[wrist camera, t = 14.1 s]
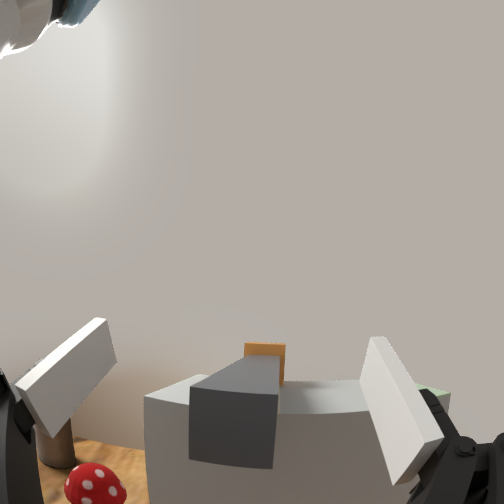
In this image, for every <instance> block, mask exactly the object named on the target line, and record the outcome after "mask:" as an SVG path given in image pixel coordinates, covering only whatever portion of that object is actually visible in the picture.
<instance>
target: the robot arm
mask: <svg viewBox="0 0 504 504" xmlns="http://www.w3.org/2000/svg"><path fill="white" fill-rule="evenodd" d="M98 2H99V0H0V59H1V57H2V56H3V55H6V54H11V53H16V52H19V51H22V50H24V49H26V48H28V47H30V46H31V45H32V44H34V43H35V42H36V41H37V39H39V38H40V36H41V35H42V34H43V33H44V32H45V31H46V29H47V28H48V27H49V26H50V25H51V24H52V23H54V22H56V23H59V25H58V26H59V27H69V28H71V27H76V26H77V25H79V24H80V23H81V22H82V21H83V20H84V19H85V18H86V17H87V16H88V15H89V13H90V12H91V11H92V10H93V8H94V7H95V6H96V5H97V3H98ZM116 362H117V361H116V357H115V353H114V349H113V345H112V341H111V336H110V332H109V328H108V323H107V319H103V318H97V317H96V318H94V319H93V320H92V321H90V322H89V323H88V324H87V325H85V326H84V327H83V328H82V329H80V330H79V331H78V332H76V333H75V334H74V335H73V336H72V337H70V338H69V339H68V340H67V341H65V342H64V343H63V344H62V345H60V346H59V347H58V348H57V349H56V350H54V351H53V352H52V353H51V354H50V355H48V356H46V357H44V358H42V359H40V360H39V361H38V362H37V363H35V364H34V366H32V367H30V368H29V370H27V371H26V372H25V373H23V374H22V375H21V376H20V377H19V378H18V379H16V380H15V381H14V382H13V383H12V384H11V385H9V383H8V381H7V379H6V377H5V375H4V373H3V371H2V369H1V368H0V504H44V501H43V496H42V491H41V485H40V478H39V471H38V462H37V451H36V435H35V429H34V428H33V425H34V424H35V423H36V424H37V426H38V427H39V429H40V430H41V432H42V433H44V434H46V435H47V436H49V437H51V438H54V437H55V436H56V434H57V433H58V432H59V431H60V429H61V428H62V427H63V426H64V424H65V423H66V422H67V421H68V419H69V418H70V417H71V416H72V415H73V413H74V412H75V411H76V410H77V408H78V407H79V406H80V405H81V404H82V402H83V401H84V400H85V399H86V398H87V396H88V395H89V394H90V393H91V392H92V391H93V389H94V388H95V387H96V386H97V385H98V383H99V382H100V381H101V380H102V379H103V378H104V376H105V375H106V374H107V373H108V372H109V371H110V369H111V368H112V367H113V366H114V365H115V364H116ZM359 383H360V386H361V389H362V391H363V394H364V397H365V400H366V403H367V406H368V409H369V411H370V414H371V417H372V420H373V423H374V426H375V429H376V432H377V435H378V439H379V442H380V445H381V448H382V451H383V454H384V458H385V461H386V464H387V468H388V471H389V475H390V478H391V482H392V485H393V486H395V485H399V484H403V483H407V482H411V481H412V480H413V478H414V477H415V476H416V475H417V474H418V475H419V478H420V481H419V482H418V483H417V484H416V485H415V487H414V488H413V489H412V490H411V491H410V492H409V494H411V493H412V492H413V493H412V494H411V496H410V498H409V500H408V502H407V503H406V504H504V433H501V434H500V435H498V436H497V438H496V439H495V440H494V442H493V443H486V444H476V442H475V441H474V440H473V439H471V438H469V437H465V436H460V435H459V433H458V431H457V430H456V428H455V426H454V425H453V423H452V421H451V420H450V418H449V416H448V415H447V413H446V412H445V410H444V408H443V406H442V405H440V404H441V403H440V401H439V400H438V398H437V397H436V395H435V394H433V393H432V392H431V391H430V390H428V389H427V388H426V389H420V390H418V389H417V387H416V385H415V384H414V382H413V380H412V379H411V377H410V375H409V374H408V372H407V370H406V369H405V367H404V365H403V364H402V362H401V361H400V359H399V357H398V356H397V355H396V353H395V351H394V350H393V348H392V346H391V345H390V343H389V342H388V340H387V339H386V337H385V336H380V337H370V341H369V346H368V350H367V354H366V358H365V362H364V366H363V370H362V373H361V377H360V380H359Z"/></svg>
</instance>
